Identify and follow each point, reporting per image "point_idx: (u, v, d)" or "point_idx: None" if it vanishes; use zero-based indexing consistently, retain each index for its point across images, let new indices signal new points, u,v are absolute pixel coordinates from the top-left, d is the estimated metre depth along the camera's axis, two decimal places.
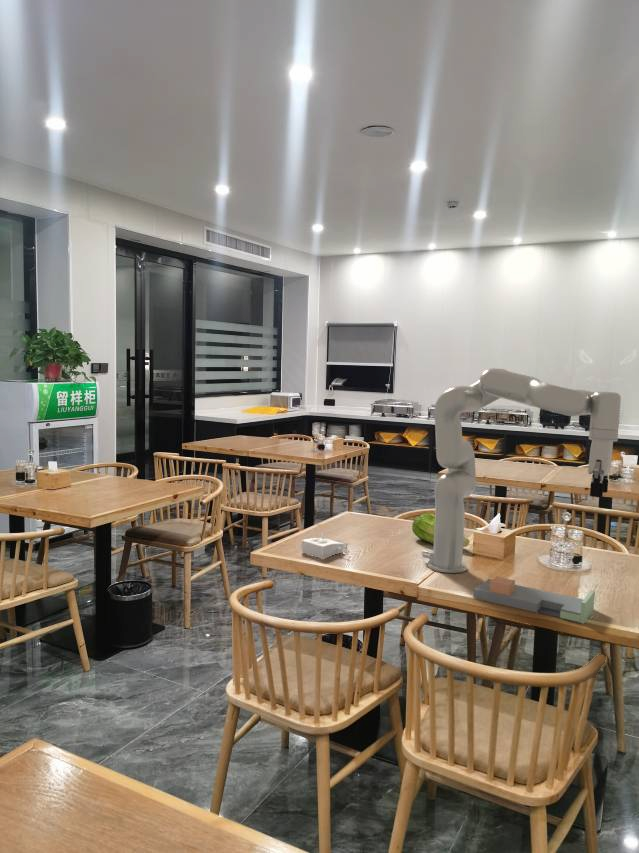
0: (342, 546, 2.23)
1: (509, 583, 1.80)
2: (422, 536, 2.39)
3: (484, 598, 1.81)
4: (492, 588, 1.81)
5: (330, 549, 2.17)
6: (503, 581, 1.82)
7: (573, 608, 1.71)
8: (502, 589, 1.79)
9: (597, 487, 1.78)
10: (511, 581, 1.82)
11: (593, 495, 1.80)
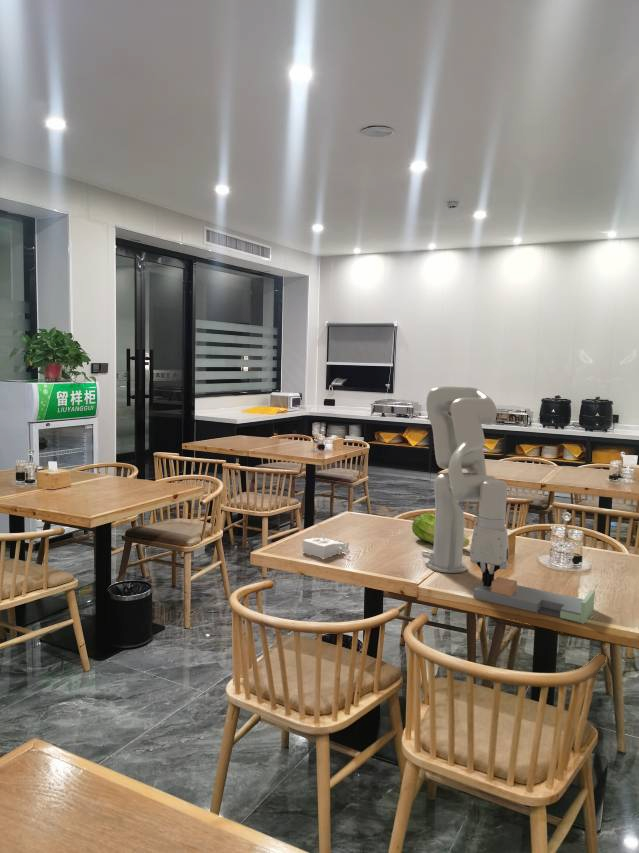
0: (343, 546, 2.23)
1: (511, 583, 1.80)
2: (422, 536, 2.39)
3: (484, 598, 1.81)
4: (493, 588, 1.81)
5: (331, 548, 2.18)
6: (505, 581, 1.81)
7: (573, 608, 1.71)
8: (504, 589, 1.79)
9: (493, 576, 1.84)
10: (513, 581, 1.82)
11: (489, 585, 1.83)
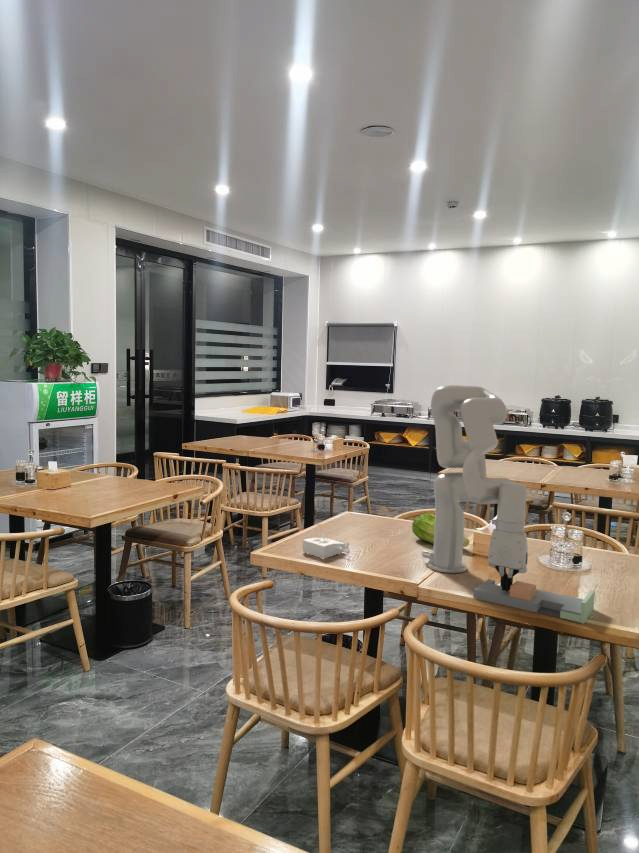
0: (343, 546, 2.23)
1: (530, 588, 1.77)
2: (422, 536, 2.39)
3: (484, 598, 1.81)
4: (512, 593, 1.78)
5: (331, 548, 2.18)
6: (524, 586, 1.78)
7: (573, 608, 1.71)
8: (523, 594, 1.76)
9: (512, 580, 1.81)
10: (532, 586, 1.78)
11: (508, 589, 1.81)
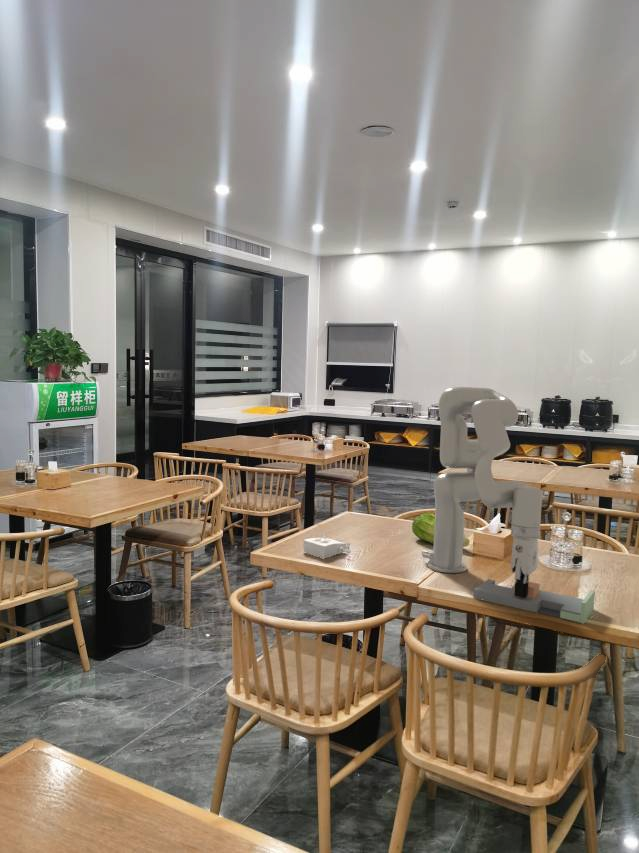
0: (344, 546, 2.23)
1: (534, 586, 1.78)
2: (422, 536, 2.39)
3: (484, 598, 1.81)
4: None
5: (332, 548, 2.18)
6: None
7: (573, 608, 1.71)
8: None
9: None
10: (536, 584, 1.80)
11: None
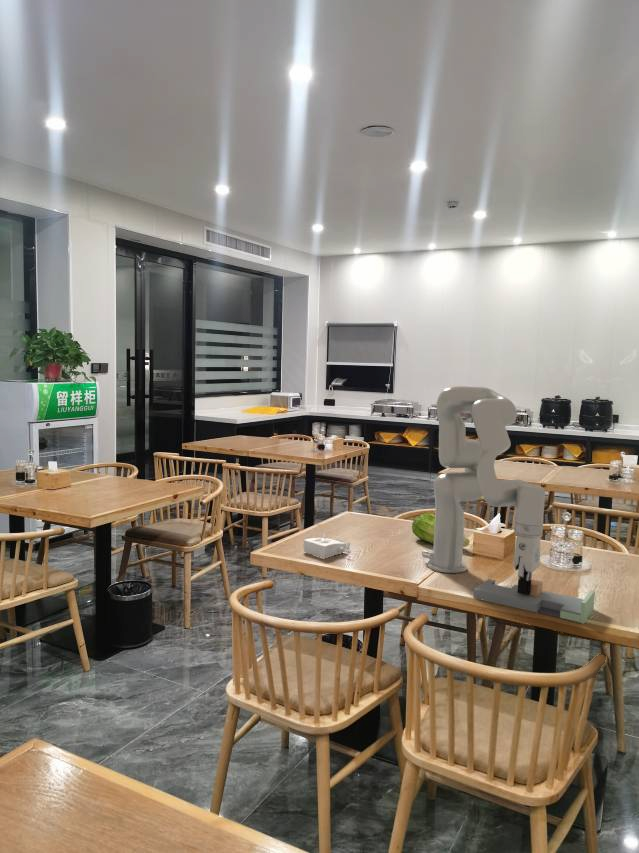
0: (344, 546, 2.23)
1: (537, 584, 1.81)
2: (422, 536, 2.39)
3: (484, 598, 1.81)
4: None
5: (332, 548, 2.18)
6: (531, 582, 1.82)
7: (573, 608, 1.71)
8: None
9: None
10: (539, 582, 1.83)
11: None
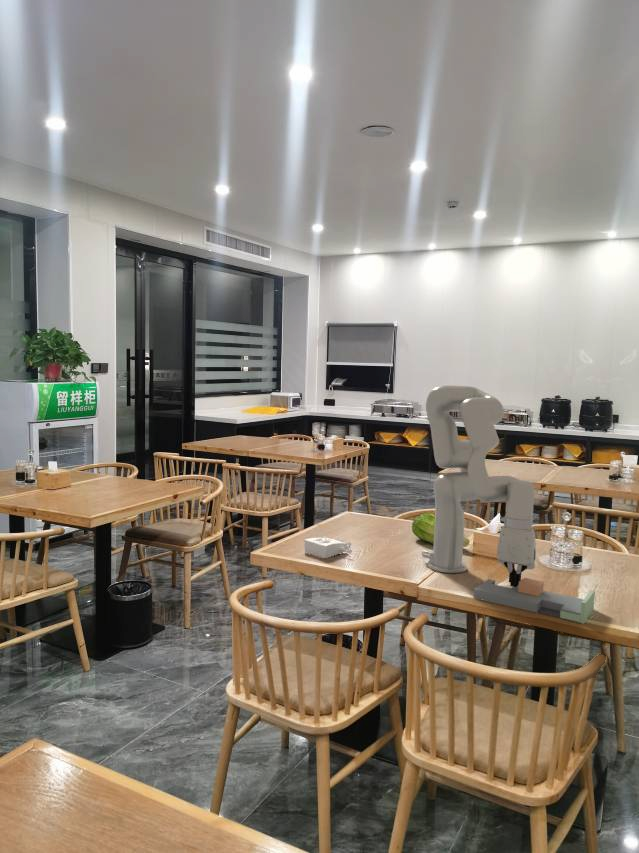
0: (345, 546, 2.23)
1: (538, 584, 1.81)
2: (422, 536, 2.39)
3: (484, 598, 1.81)
4: (520, 588, 1.82)
5: (333, 548, 2.18)
6: (532, 582, 1.82)
7: (573, 608, 1.71)
8: (531, 589, 1.80)
9: (520, 576, 1.85)
10: (540, 582, 1.83)
11: (516, 585, 1.84)
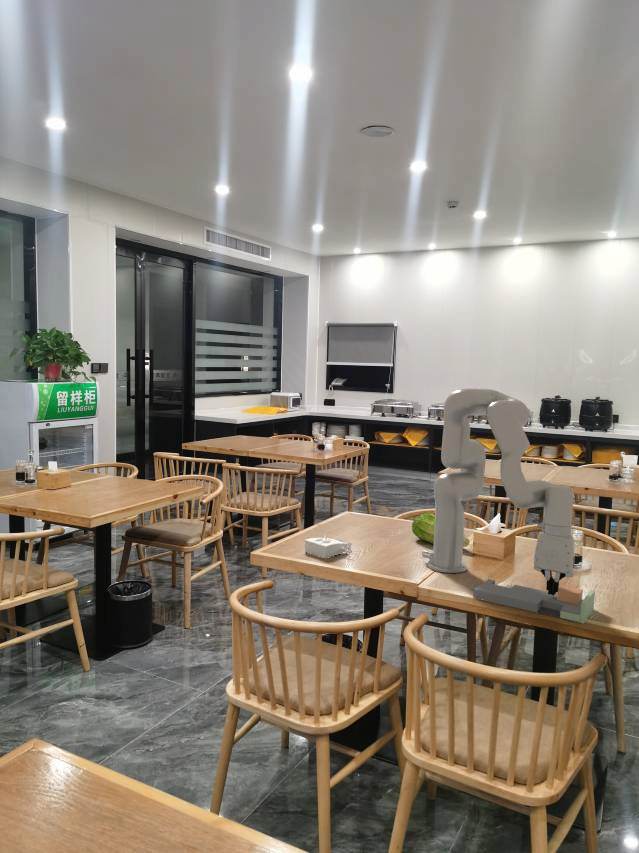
0: (345, 546, 2.23)
1: (578, 592, 1.75)
2: (422, 536, 2.39)
3: (484, 598, 1.81)
4: (560, 597, 1.76)
5: (333, 548, 2.18)
6: (572, 590, 1.77)
7: (573, 608, 1.71)
8: (571, 598, 1.75)
9: (558, 584, 1.79)
10: (579, 590, 1.77)
11: (554, 593, 1.79)
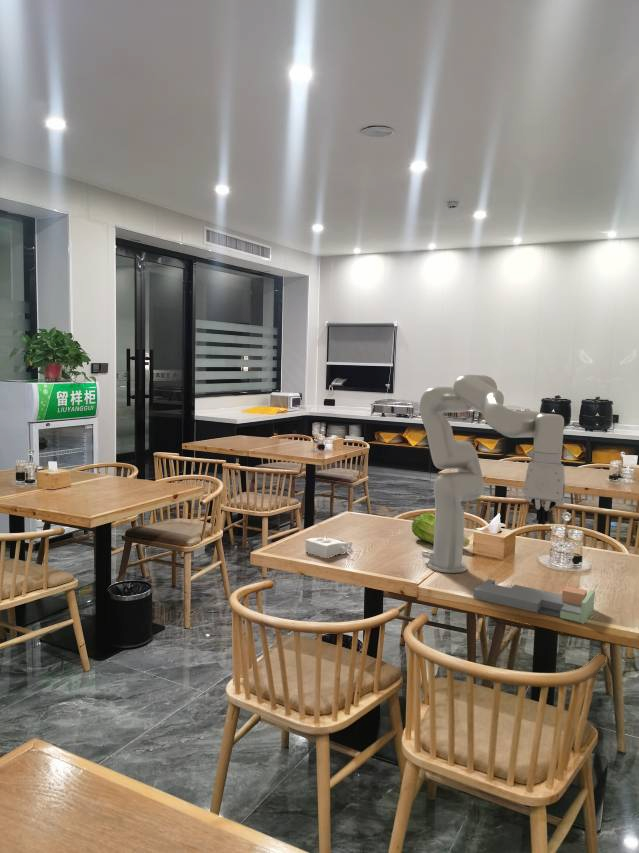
0: (346, 546, 2.23)
1: (583, 593, 1.75)
2: (422, 536, 2.39)
3: (484, 598, 1.81)
4: (564, 598, 1.76)
5: (334, 548, 2.18)
6: (576, 591, 1.76)
7: (573, 608, 1.71)
8: (576, 599, 1.74)
9: (548, 514, 1.78)
10: (584, 591, 1.77)
11: (544, 523, 1.77)
